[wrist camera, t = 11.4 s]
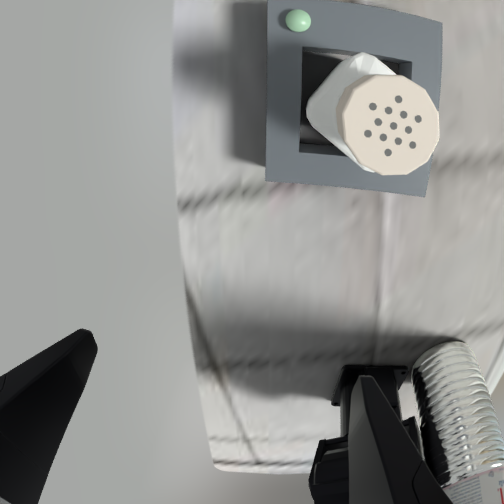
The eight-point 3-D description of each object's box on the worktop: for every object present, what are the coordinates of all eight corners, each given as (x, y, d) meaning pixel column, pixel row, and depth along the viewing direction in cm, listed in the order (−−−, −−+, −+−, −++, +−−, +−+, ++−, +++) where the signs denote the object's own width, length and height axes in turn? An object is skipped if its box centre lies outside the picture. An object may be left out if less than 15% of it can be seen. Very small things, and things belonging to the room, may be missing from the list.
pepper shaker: (396, 102, 16) (473, 128, 8) (354, 149, 18) (395, 213, 9) (343, 56, 15) (383, 33, 7) (301, 106, 17) (299, 130, 9)
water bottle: (410, 347, 25) (433, 632, 3) (477, 330, 23) (535, 591, 2) (407, 389, 28) (418, 619, 7) (466, 374, 26) (500, 593, 5)
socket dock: (412, 182, 18) (427, 200, 15) (270, 168, 19) (264, 183, 17) (426, 28, 13) (445, 21, 10) (272, 8, 14) (266, -5, 11)
